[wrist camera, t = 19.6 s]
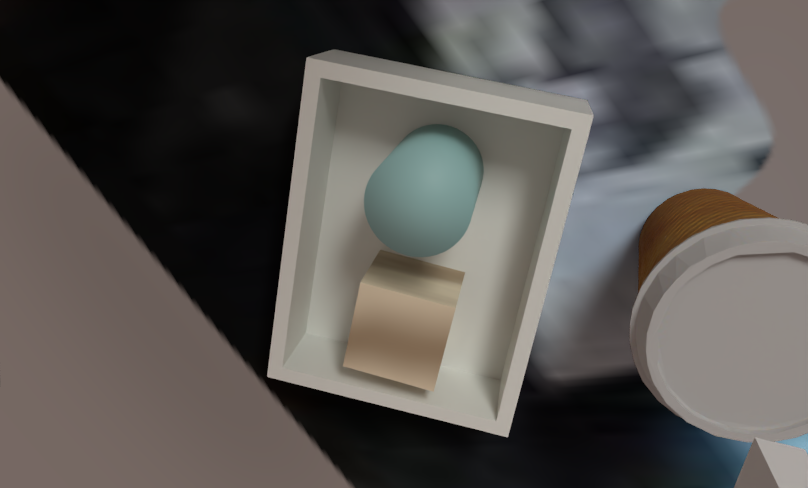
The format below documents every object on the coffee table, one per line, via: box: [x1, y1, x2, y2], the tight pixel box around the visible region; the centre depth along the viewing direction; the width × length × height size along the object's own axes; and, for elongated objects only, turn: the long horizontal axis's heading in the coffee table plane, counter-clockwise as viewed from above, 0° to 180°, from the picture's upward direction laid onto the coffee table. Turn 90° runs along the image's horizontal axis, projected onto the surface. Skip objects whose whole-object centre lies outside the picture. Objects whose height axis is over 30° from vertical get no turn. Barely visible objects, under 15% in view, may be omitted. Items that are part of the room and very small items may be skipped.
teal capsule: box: [364, 124, 484, 257], centre depth 37 cm, size 5×5×7 cm
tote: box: [267, 49, 594, 437], centre depth 39 cm, size 18×14×5 cm
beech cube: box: [343, 250, 465, 392], centre depth 40 cm, size 5×5×5 cm
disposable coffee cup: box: [629, 189, 808, 442], centre depth 34 cm, size 10×10×12 cm
